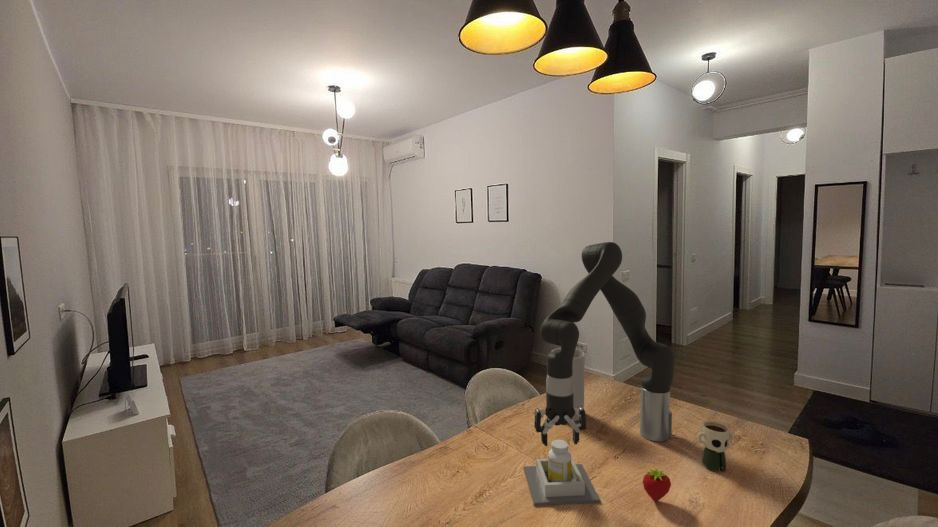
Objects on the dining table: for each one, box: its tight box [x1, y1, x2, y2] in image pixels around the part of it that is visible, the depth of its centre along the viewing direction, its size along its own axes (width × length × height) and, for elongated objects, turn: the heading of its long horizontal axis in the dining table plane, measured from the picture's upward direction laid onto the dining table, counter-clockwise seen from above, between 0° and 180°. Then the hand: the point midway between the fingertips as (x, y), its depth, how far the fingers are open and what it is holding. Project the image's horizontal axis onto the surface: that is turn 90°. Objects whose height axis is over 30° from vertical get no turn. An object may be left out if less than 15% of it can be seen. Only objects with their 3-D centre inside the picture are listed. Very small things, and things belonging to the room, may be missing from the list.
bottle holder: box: [523, 457, 601, 506], centre depth 116 cm, size 18×16×4 cm
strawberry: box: [642, 467, 672, 502], centre depth 108 cm, size 6×8×10 cm
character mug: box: [697, 420, 734, 472], centre depth 122 cm, size 11×7×13 cm, turn 94°
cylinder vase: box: [550, 347, 586, 422], centre depth 156 cm, size 12×12×25 cm
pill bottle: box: [547, 439, 572, 482], centre depth 115 cm, size 6×6×12 cm
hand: (560, 443), depth 114 cm, fingers open, 8 cm apart
